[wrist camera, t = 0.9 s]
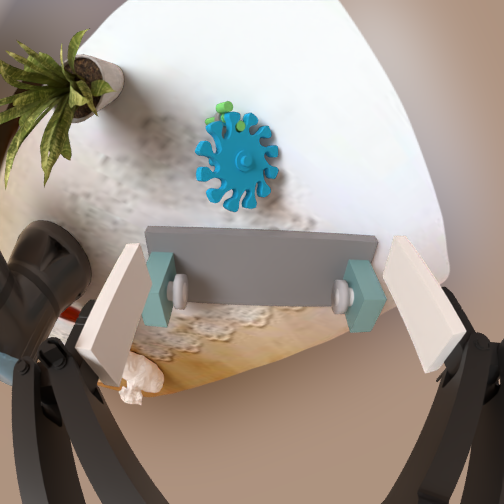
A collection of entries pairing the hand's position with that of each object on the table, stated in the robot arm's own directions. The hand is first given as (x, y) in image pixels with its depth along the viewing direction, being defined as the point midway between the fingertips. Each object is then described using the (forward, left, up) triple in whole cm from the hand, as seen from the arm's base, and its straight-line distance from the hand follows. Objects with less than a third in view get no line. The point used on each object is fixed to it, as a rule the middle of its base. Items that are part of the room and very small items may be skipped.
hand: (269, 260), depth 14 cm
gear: (-2, +1, -20) cm, 20 cm away
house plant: (-19, +10, -19) cm, 29 cm away
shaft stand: (+1, -16, -19) cm, 25 cm away
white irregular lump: (-23, -44, -19) cm, 54 cm away
